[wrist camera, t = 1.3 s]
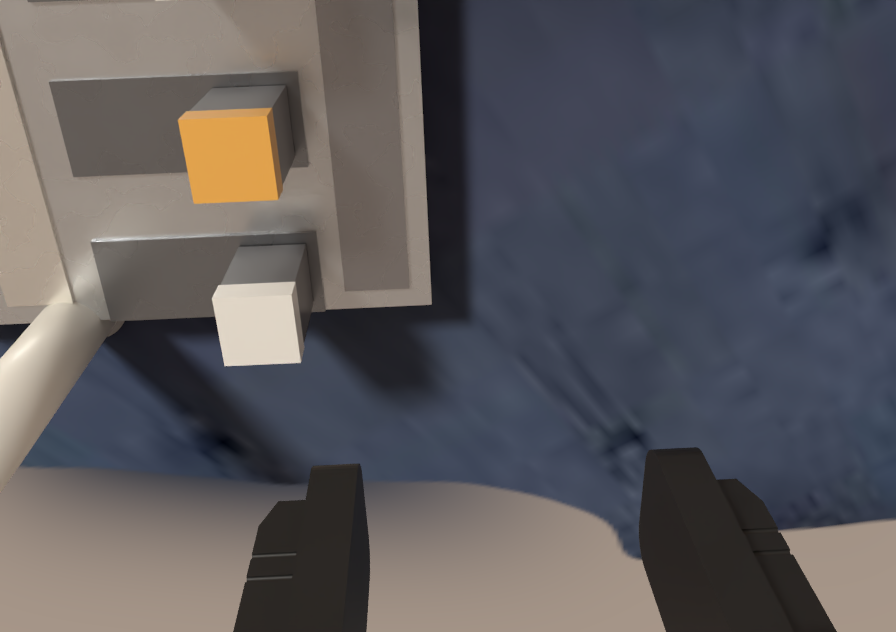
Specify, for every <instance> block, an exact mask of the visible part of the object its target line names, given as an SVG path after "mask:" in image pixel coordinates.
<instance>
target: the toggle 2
mask: <svg viewBox="0 0 896 632" xmlns="http://www.w3.org/2000/svg"><path fill="white" fill-rule="evenodd" d="M212 302H213V307H214V312H215V318H216V323H217V328H218V333H219V339H220V344H221V349H222V354H223V360H224V365H225V366H241V365H262V364H283V363H301V360H302V356H303V351H304V341H305V336H306V332H307V328H308V324H309V320H310V315H311V311H312V307H313V297H312V289H311V281H310V273H309V265H308V257H307V249H306V244H295V245H272V246H250V247H238V249H237V251H236V254H235V256H234V258H233V260H232V262H231V264H230V266H229V268H228V270H227V272H226V274H225V276H224V279H223V281H222V283H221V285H218V287H217V289H216V291H215V293H214V295H213V297H212Z"/></svg>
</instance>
